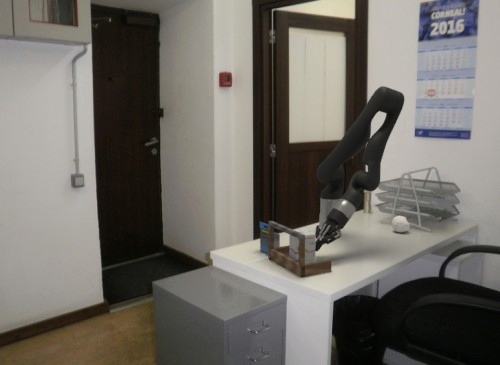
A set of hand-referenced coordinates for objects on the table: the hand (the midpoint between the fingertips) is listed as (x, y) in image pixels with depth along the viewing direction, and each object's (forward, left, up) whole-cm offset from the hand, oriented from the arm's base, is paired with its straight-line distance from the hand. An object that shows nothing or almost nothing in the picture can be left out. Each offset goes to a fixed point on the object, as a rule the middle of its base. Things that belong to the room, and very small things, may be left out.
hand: (314, 249), depth 170 cm
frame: (0, -6, -5) cm, 8 cm away
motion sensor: (-16, +58, -5) cm, 61 cm away
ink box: (0, -5, -5) cm, 7 cm away
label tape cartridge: (-18, -9, -5) cm, 21 cm away
